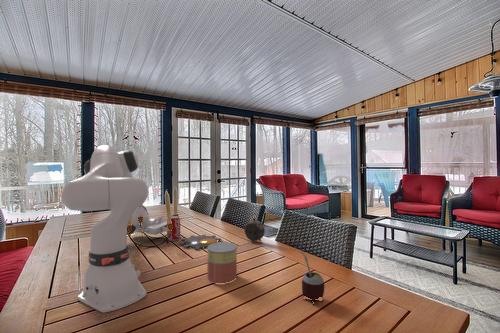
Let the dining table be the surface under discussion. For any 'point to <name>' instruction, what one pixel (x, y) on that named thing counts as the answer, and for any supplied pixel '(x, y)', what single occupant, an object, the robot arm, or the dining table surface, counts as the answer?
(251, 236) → the alarm clock
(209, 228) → the dining table surface
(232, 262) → the canned food
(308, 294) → the mate gourd
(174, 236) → the soda can
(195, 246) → the sprocket plate
